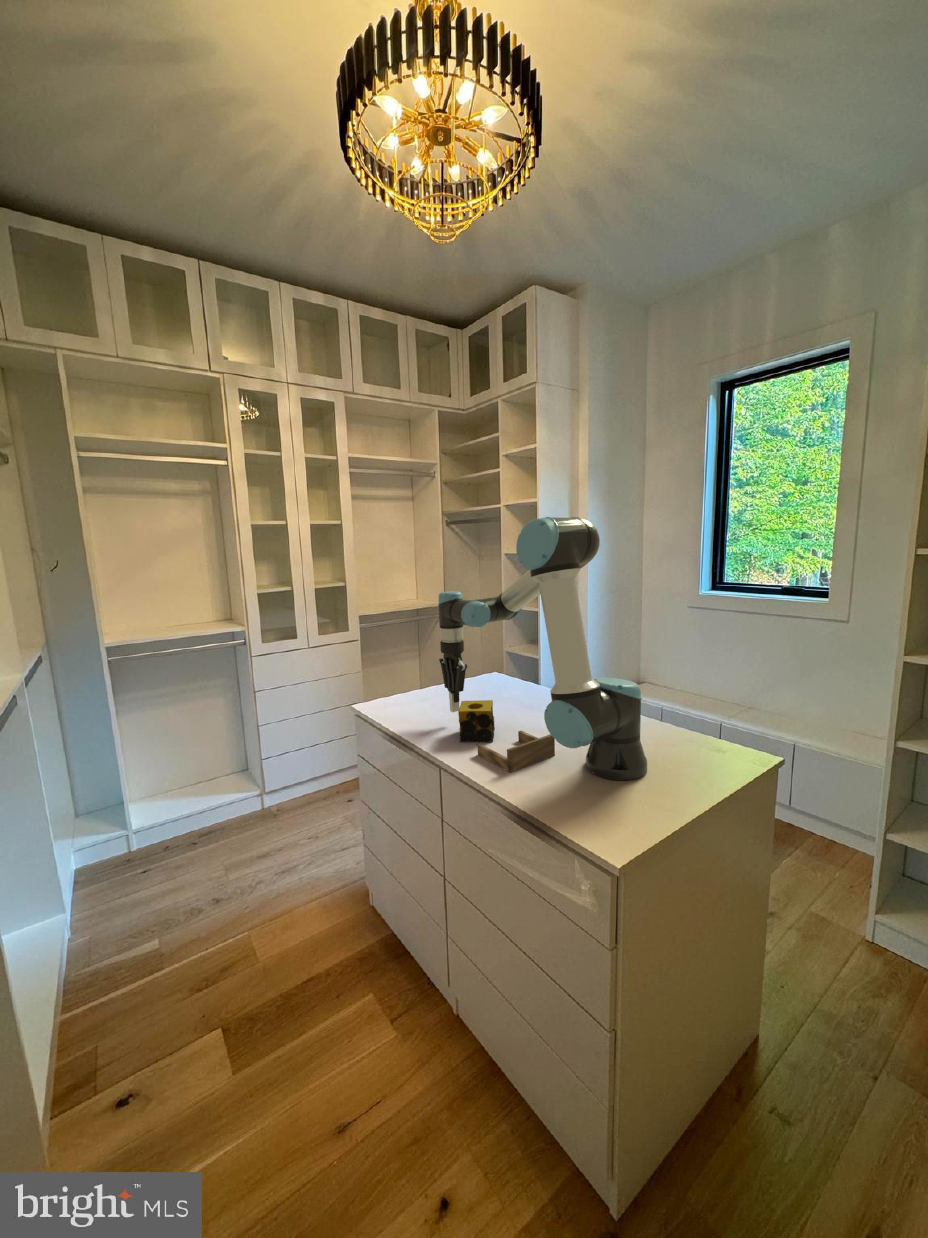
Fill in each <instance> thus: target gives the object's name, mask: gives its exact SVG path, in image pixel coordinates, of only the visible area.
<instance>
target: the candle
mask: <svg viewBox="0 0 928 1238" xmlns="http://www.w3.org/2000/svg"><path fill="white" fill-rule="evenodd" d="M460 702H461V703H460V704H459V710H458V711H457V715H458V723H459V742H460V743H492V742H494V738H495V729H496V728H495V716H494V710H493V709H494V708H493V705H494V701H493V699H489V700H487V699H485V700H482V699H481V700H461V701H460Z"/></svg>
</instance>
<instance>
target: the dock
mask: <svg viewBox="0 0 928 1238" xmlns="http://www.w3.org/2000/svg"><path fill="white" fill-rule="evenodd" d="M517 733H518V735H517V736H518V742H520V743H521V744H518V745H516V746H513V747H509V748H507V749H506V756H504V755H503V754H501V753H499V752H497V751H495V750H493V749H491V748H489V747H487V746H486V745H484V744H482V743H479V744H477V755H478V757H481V758H483V759H484V760H486V761H489V762H490V763H492V764H494V765H496V766H497V765H498V766H497V767H499V768H501V769H503V770H504V769H505V770H504V771H506V772H507V773H508V772H509V773H512V772H515V771H518V770H520V769H523V768H526V767H528V766H532V765H535V764H537V763H538V762H539V763H540V762H541V761H544V760H546V759H549V758H552V757H555V755H556V750H555V749H556V748H555V746H556V745H555V744H556V743H555V742H556V739H555V738H553V737H552V735H551V734H550V733H549V734H546V735H545V736H541V737H537V736H534V735H533V734H529V733H528V732H525V731H523V730H518V731H517Z"/></svg>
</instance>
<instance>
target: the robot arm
mask: <svg viewBox="0 0 928 1238" xmlns="http://www.w3.org/2000/svg"><path fill="white" fill-rule="evenodd" d="M516 539H517V540H516V548H515V549H516V551H515V552H516V556H517V560H518V561H519V563H520V564H522V567H524V568H526V569H528V570H527V571H526V572H525V573H524V574H522V575H521V576H520V577H519V578H518V579H516V580H515V581H514V582H513V583H512V584H510V585H509V586H508V587H507V588H506V589H505V590H504V591H502V592H501V593H500V594H499V595H497V596H494V597H487V598H479V599H473V600H471V599H470V600H469V599H467V600H466V599H463V594H462V592H460V591H458V590H451V591H449V590H447V591H442V592H440V593H439V594H438V604H437V606H438V621H439V623H438V624H439V639H440V642H439V643H440V647H439V649H440V653H441V654H442V655H443V657H441V658H439V659H438V661H439V664H440V668H441V673H442V678H443V685H444V688H445V689H447V691H448V697H449V698H448V699H449V712H451V713H455V712H458V710H459V708H460V692H464V688H465V678H466V671H467V669H468V665H467V664H468V663H467V664H466V663H463V657H462V653H463V652H464V651H465V641H464V625H465V626H468V627H470V628H482V627H484V626H486V625H487V624H488V623H494V622H501V621H509V620H512V619H516V618H518V617H519V616H520V615H521V612H523V608H524V607H525V606H527V605H528V604H529V603H531V602H532V601H533V600H535V599H536V598H537V597H539V596H540V599H541V605H542V611H543V617H544V623H545V629H546V635H547V640H548V647H549V653H550V659H551V665H552V670H553V676H554V681H555V682H554V685H553V687H552V688H551V689H550V691H549V693H550V697H551V701H550V702H549V703H548V704H547V705H546V709H545V710H544V718H543V719H544V722H545V727H546V729H547V730H548V732H549V735H550V734H551V735H552V737H553V738H555V742H558V743H559V745H561V746H563V747H565V748H569V749H577V748H581V747H586V746H588V745H589V747H588V748H587V753H586V755H585V767H586V768H587V771H589V772H591V773H592V774H594V775H596V776H597V777H600V778H604V779H607V780H613V781H631V780H637V779H640V778H642V777H644V776H645V775H646V774H647V773H648V760H647V758H646V754H645V751H644V747H643V745H642V740H641V720H642V718H641V715H642V712H641V710H642V709H641V708H642V695H641V694H642V693H641V691H642V690H641V687H640V686H639V684H638V683H636V682H634V681H632V680H627V679H624V678H623V679H622V678H616V677H596V678H595V679H594V678H593V677H592V671H591V665H590V660H589V653H588V648H587V647H588V646H587V641H586V636H585V635H586V634H585V629H584V625H583V624H584V623H583V617H582V613H581V606H580V600H579V594H578V588H577V583H576V577H577V575H578V574H579V572H580V571H581V569H582V568H584V567H585V566H587V565H588V564H589V563H590V562H591V561H593V559H594V558H595V557H596V556H597V553H598V551H599V548H600V545H601V544H600V535H599V532H598V530H597V528H596V526H595V525H594V524H593V523H592V522H590V521H589V520H587V519H585V518H582V517H572V516H571V517H550V516H545V517H540V518H533V519H531V520H530V521H528V522H527V523H525V524H524V525H523V526H522V528H521V530H520V533H519V534H518V536H517V538H516Z"/></svg>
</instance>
